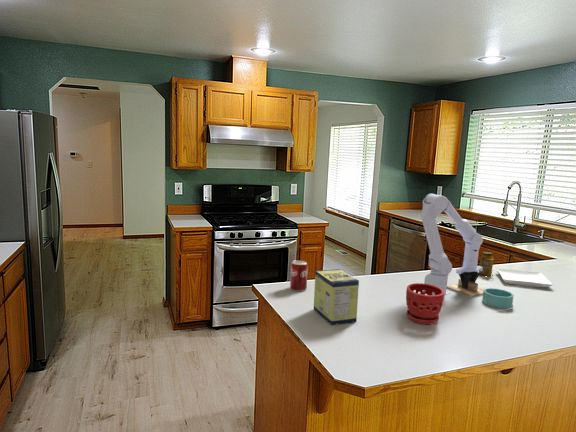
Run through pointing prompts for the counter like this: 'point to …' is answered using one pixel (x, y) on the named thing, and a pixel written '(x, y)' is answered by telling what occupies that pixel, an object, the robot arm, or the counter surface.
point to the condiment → (486, 264)
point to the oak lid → (470, 291)
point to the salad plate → (524, 278)
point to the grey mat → (464, 295)
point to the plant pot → (424, 303)
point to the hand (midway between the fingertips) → (467, 287)
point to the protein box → (336, 296)
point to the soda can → (298, 275)
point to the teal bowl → (498, 298)
